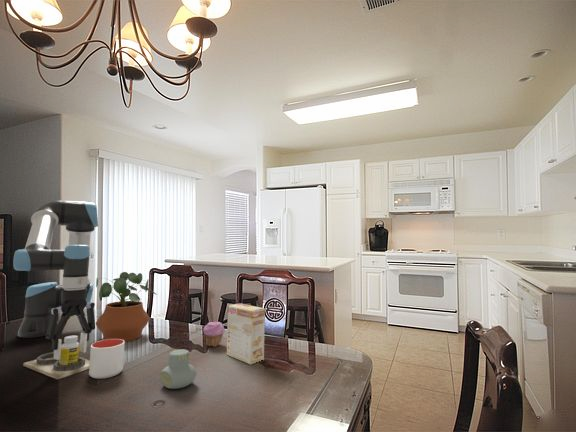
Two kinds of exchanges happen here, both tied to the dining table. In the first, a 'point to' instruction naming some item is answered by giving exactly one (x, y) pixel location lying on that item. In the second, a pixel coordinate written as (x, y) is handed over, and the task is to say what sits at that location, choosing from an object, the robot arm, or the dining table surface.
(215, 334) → the cupcake
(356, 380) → the dining table surface
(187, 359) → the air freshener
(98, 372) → the cup
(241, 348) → the coffeecake box
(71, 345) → the supplement bottle
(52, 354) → the caddy
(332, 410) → the dining table surface
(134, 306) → the potted plant
